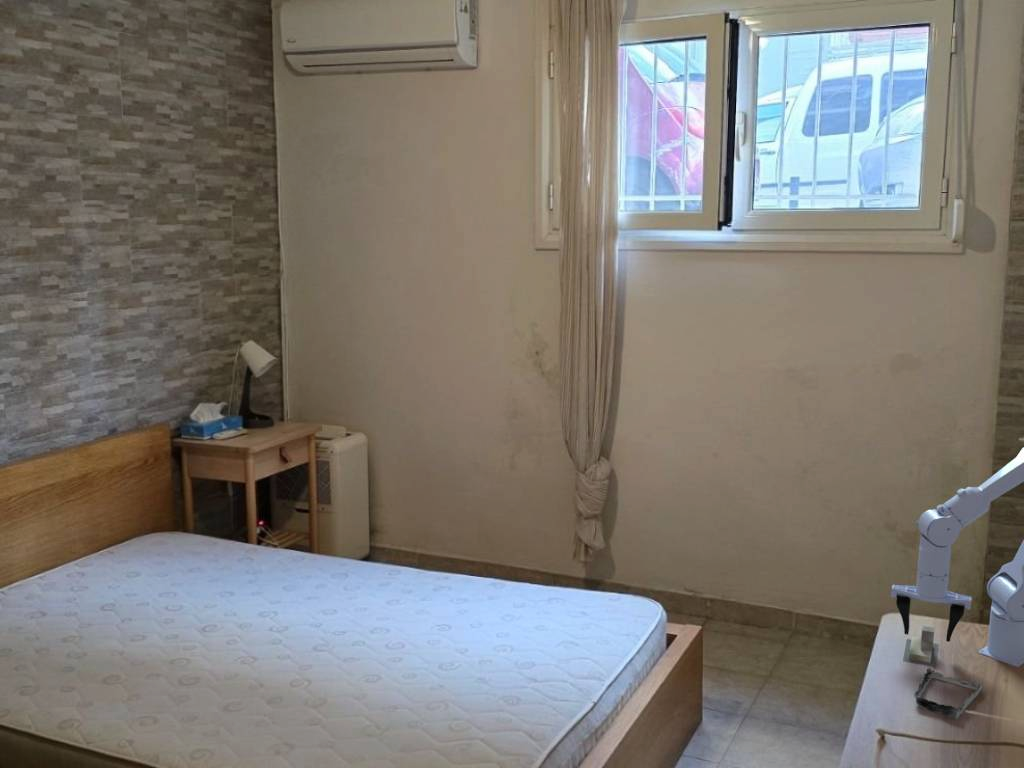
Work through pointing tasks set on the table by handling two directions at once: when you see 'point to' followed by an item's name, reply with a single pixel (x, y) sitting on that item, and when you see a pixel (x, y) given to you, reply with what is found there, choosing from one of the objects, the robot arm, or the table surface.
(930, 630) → the scraper
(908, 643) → the rest mat
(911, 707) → the table surface
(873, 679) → the table surface
